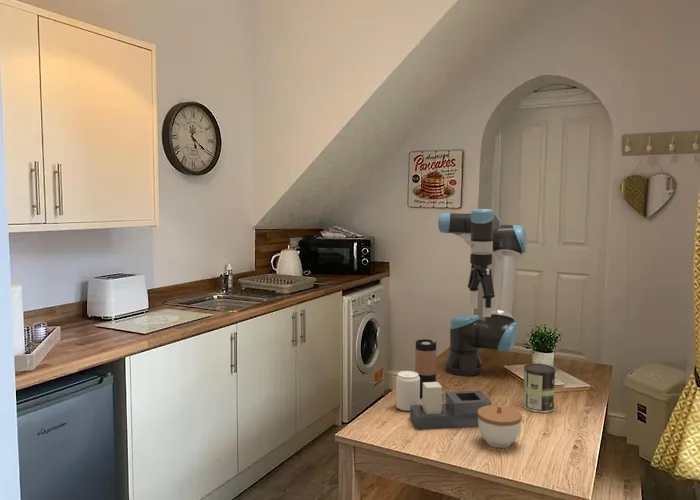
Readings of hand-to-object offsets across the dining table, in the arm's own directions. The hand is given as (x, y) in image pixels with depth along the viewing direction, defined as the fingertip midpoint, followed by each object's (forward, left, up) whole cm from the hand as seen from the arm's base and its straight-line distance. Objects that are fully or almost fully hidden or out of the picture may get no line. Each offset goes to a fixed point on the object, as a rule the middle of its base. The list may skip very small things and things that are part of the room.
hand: (480, 312), depth 196 cm
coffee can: (+10, +18, -32) cm, 38 cm away
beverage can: (+5, -27, -32) cm, 42 cm away
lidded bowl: (+35, -6, -32) cm, 47 cm away
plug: (+18, -22, -30) cm, 41 cm away
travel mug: (-6, -18, -32) cm, 37 cm away
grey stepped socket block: (+18, -16, -32) cm, 40 cm away
